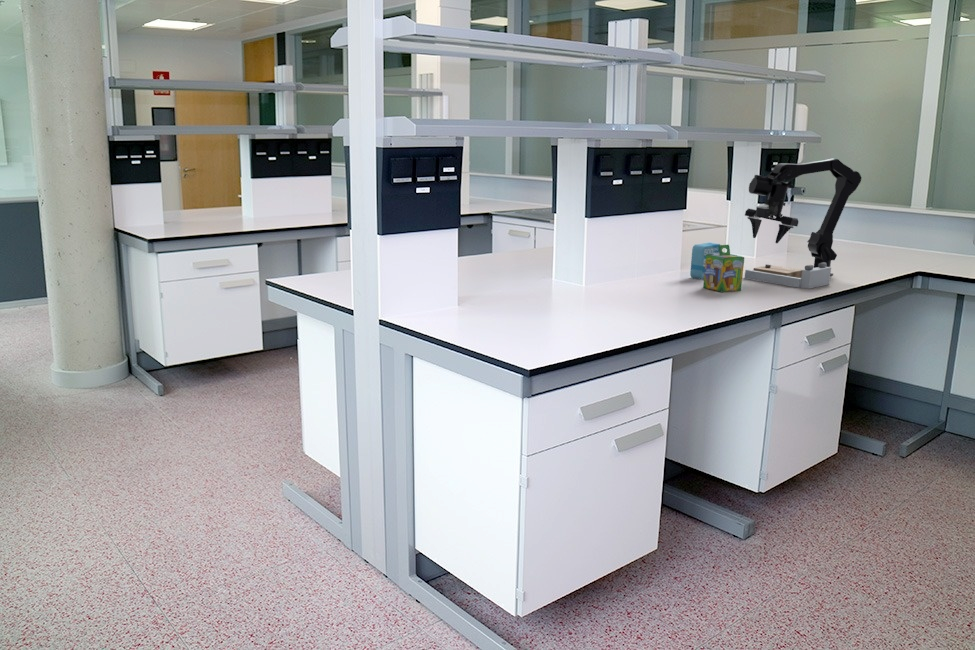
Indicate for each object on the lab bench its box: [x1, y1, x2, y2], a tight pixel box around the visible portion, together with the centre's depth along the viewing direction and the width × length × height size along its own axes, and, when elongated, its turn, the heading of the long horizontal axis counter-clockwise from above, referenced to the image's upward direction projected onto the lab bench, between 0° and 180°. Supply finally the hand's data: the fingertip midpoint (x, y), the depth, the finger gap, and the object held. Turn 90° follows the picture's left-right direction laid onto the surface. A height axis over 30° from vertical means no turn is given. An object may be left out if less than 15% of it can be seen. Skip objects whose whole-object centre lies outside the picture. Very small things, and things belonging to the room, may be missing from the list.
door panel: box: [753, 263, 803, 278], centre depth 286 cm, size 11×13×5 cm
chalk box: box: [702, 244, 745, 293], centre depth 264 cm, size 9×9×15 cm
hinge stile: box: [799, 262, 832, 289], centre depth 274 cm, size 14×3×8 cm, turn 130°
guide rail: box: [744, 269, 801, 289], centre depth 279 cm, size 2×21×3 cm, turn 40°
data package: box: [689, 242, 721, 280], centre depth 285 cm, size 12×4×12 cm, turn 132°
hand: (765, 240), depth 291 cm, fingers open, 9 cm apart
